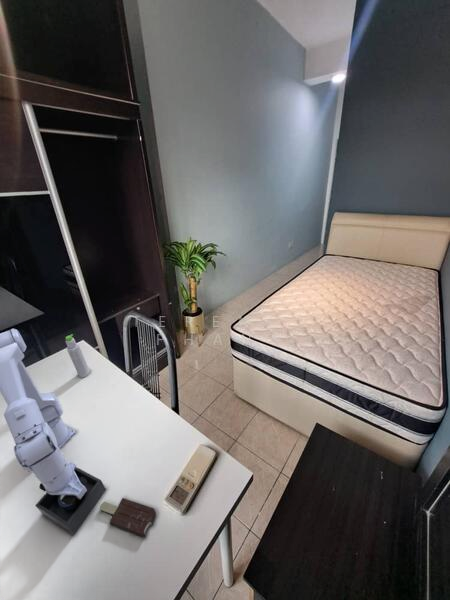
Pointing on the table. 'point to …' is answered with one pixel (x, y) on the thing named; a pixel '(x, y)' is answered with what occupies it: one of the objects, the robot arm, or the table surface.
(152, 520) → the ice cream bar
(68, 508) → the rice dish
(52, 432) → the robot arm
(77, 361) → the bottle
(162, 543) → the table surface
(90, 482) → the tub
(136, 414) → the table surface
